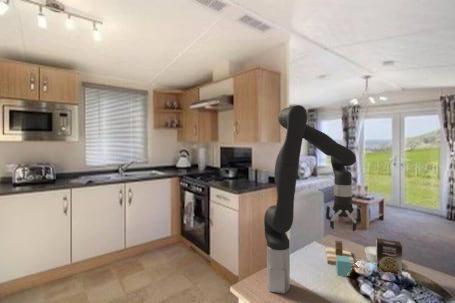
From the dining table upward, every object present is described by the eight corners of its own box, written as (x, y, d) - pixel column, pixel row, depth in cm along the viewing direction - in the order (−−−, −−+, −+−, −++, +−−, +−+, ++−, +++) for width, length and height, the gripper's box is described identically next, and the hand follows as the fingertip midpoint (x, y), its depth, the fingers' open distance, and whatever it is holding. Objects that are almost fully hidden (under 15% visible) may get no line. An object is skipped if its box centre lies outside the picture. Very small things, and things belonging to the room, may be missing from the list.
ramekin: (359, 258, 122) (359, 248, 122) (374, 254, 126) (374, 244, 126) (381, 269, 112) (382, 258, 111) (396, 263, 116) (396, 253, 116)
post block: (354, 267, 113) (354, 249, 113) (327, 263, 117) (327, 246, 117) (349, 252, 128) (349, 237, 128) (325, 249, 132) (325, 234, 132)
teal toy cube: (350, 277, 105) (350, 262, 105) (337, 275, 107) (337, 260, 107) (348, 270, 110) (348, 256, 110) (335, 269, 112) (335, 255, 112)
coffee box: (376, 279, 103) (376, 242, 103) (375, 272, 109) (375, 237, 108) (402, 284, 99) (402, 246, 98) (399, 277, 105) (399, 240, 104)
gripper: (326, 195, 106) (326, 230, 107) (362, 196, 102) (362, 234, 102) (325, 191, 113) (325, 225, 114) (358, 193, 109) (358, 228, 109)
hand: (342, 229), depth 108 cm, fingers open, 8 cm apart
